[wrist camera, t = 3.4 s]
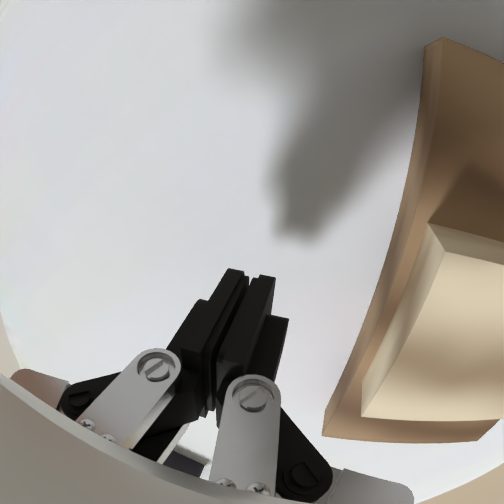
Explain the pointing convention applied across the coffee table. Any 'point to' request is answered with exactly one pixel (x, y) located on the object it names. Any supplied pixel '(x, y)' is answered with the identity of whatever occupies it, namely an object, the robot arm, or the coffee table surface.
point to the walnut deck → (433, 221)
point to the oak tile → (444, 335)
